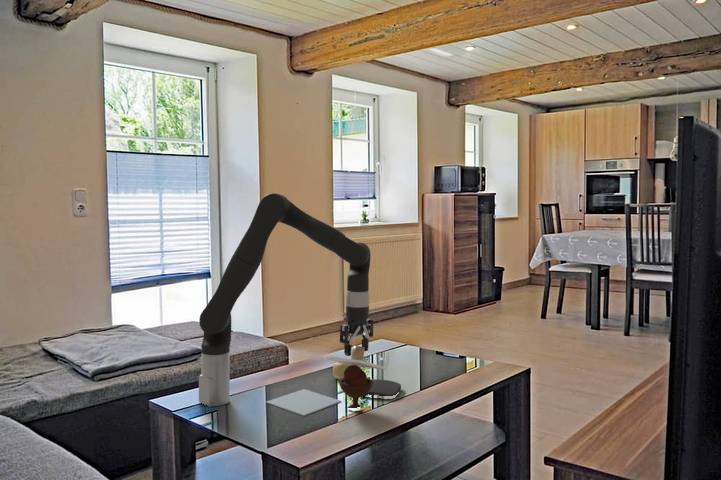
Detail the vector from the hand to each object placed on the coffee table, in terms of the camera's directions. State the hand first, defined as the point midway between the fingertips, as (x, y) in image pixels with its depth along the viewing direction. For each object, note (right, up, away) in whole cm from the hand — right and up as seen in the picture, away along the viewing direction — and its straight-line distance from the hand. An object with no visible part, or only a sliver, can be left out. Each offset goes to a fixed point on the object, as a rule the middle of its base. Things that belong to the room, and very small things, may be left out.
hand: (356, 353), depth 199 cm
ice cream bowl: (0, -19, +2) cm, 19 cm away
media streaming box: (+8, -18, +19) cm, 28 cm away
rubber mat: (-18, -18, +7) cm, 26 cm away
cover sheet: (0, -4, 0) cm, 4 cm away
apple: (-6, -16, +34) cm, 38 cm away
